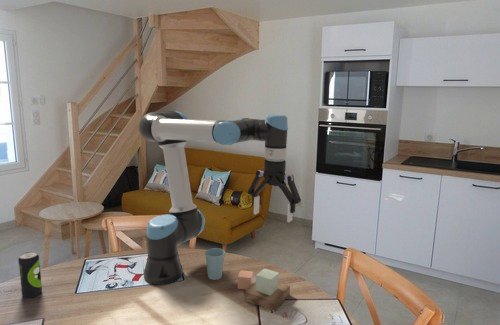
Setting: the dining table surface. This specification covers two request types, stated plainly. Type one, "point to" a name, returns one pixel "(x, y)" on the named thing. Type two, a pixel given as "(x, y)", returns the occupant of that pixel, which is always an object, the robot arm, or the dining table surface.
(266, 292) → the pale green cube
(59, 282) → the dining table surface
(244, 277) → the terracotta cube
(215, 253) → the cup
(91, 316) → the dining table surface
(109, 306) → the dining table surface
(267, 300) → the walnut block
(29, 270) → the beverage can
